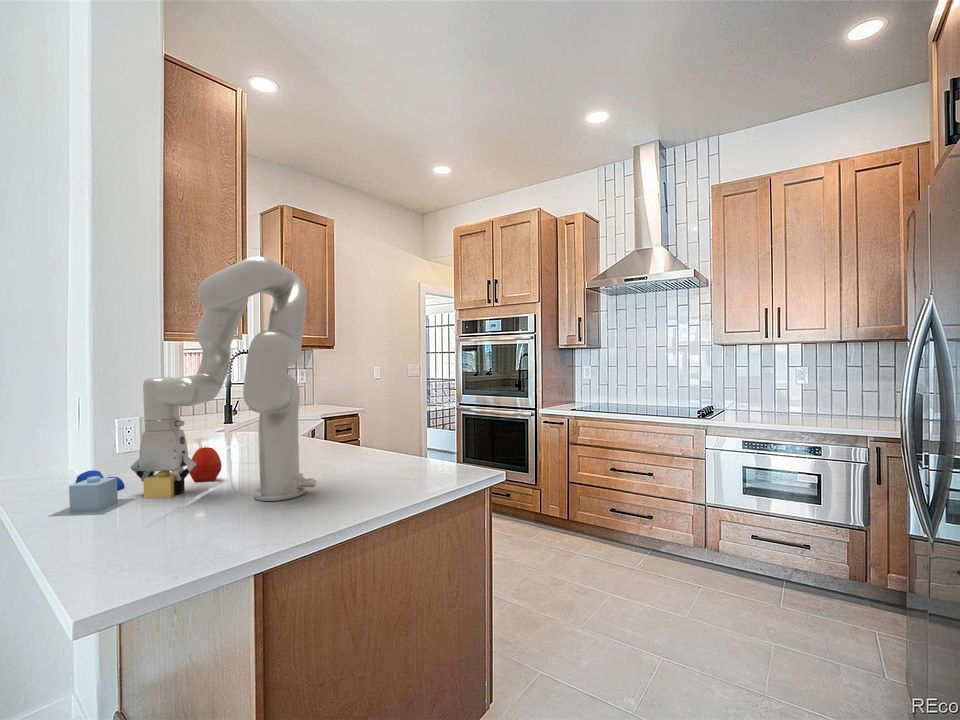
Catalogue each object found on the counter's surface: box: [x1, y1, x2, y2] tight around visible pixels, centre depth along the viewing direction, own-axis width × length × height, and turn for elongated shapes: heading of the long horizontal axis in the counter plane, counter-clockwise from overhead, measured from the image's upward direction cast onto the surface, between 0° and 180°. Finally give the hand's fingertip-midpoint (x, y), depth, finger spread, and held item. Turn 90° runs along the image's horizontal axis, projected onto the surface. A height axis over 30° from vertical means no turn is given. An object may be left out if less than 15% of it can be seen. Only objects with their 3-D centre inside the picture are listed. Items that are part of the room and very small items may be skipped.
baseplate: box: [47, 497, 138, 518], centre depth 117 cm, size 12×12×2 cm
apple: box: [189, 446, 223, 483], centre depth 141 cm, size 8×8×11 cm
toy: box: [74, 469, 125, 492], centre depth 133 cm, size 7×6×15 cm
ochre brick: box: [142, 471, 176, 499], centre depth 126 cm, size 6×6×7 cm
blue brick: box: [68, 476, 119, 512], centre depth 117 cm, size 6×6×7 cm
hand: (164, 494), depth 126 cm, fingers closed on ochre brick, 6 cm apart
